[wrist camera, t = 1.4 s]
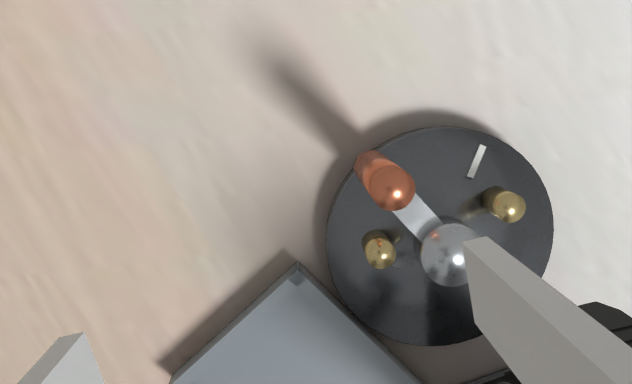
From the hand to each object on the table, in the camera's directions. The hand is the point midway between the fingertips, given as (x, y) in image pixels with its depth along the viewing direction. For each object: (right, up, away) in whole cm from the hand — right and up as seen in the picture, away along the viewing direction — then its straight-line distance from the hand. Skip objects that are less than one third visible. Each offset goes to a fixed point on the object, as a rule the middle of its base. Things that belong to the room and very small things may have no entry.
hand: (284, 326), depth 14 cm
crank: (+8, +3, +19) cm, 21 cm away
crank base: (+10, +1, +21) cm, 24 cm away
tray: (0, -12, +24) cm, 26 cm away
